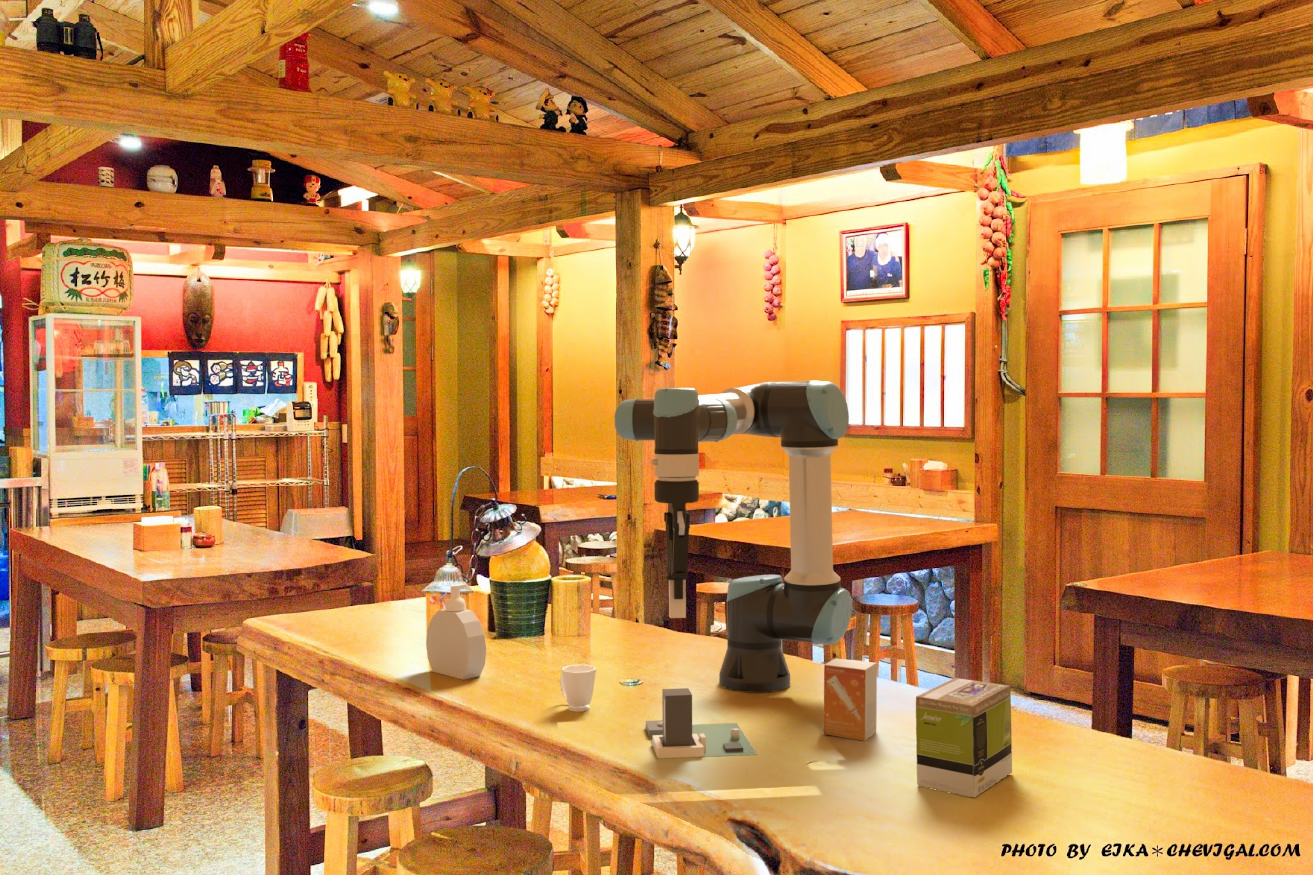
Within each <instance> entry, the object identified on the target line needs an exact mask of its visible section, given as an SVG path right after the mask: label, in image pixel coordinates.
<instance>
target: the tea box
mask: <svg viewBox="0 0 1313 875" xmlns="http://www.w3.org/2000/svg"><path fill="white" fill-rule="evenodd" d="M1011 693H1012V692H1011V685H1008V684H1000V683H993V682H985V681H978V680H973V679H964V678H960V677H959V678H958V677H954V678H952V679H950V680H947V681H946V682H944V683H941V684H940V685H937V686H935V687H933V688H932V689H929V690H927V691H925V692H923V693H921V694H918V695H917V696H915V736H916V744H915V745H916V746H915V747H916V784H917V786H918V787H920V788H925V787H927V788H926V789H929V788H932V789H931V790H933V789H936V790H935V791H938V790H940V791H939V792H942V791H944V792H943V793H947V792H950V793H949V794H951V793H955V794H954V795H956V794H958V795H957V796H961V795H963V796H962V797H966V796H967V798H971V797H975V798H976V797H978V796H979V795H980V793H981V794H982V793H984V792H985V791H986V790H989V789H990V788H991V787H992V786H994V785H996V784H997V783H999V782H1000V781H1002V780H1003V779H1005V778H1006V777H1008V776H1009V775H1010V774H1012V773H1013V753H1012V749H1013V748H1012V742H1013V741H1012V704H1011V703H1012V702H1011V701H1012V700H1011V699H1012V698H1011V695H1012V694H1011ZM1007 775H1008V776H1007ZM1001 779H1002V780H1001ZM995 783H996V784H995ZM989 787H990V788H989Z"/></svg>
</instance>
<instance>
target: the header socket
mask: <svg viewBox="0 0 1313 875" xmlns="http://www.w3.org/2000/svg"><path fill="white" fill-rule="evenodd" d="M652 745H653V746H652ZM651 746H652V748H653V747H654V749H653V751H654V750H655V752H654V754H655V753H656V755H657V757H656V759H657V758H669V759H683V758H682V757H693V758H705V757H704V752H706V737H705V735H704V733H702V734H699V737H698V735H697V734H692V746H674V747H663V735H652V744H651ZM656 755H655V756H656Z"/></svg>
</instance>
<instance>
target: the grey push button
mask: <svg viewBox="0 0 1313 875" xmlns="http://www.w3.org/2000/svg"><path fill="white" fill-rule="evenodd" d="M645 726H646V727H645V730H646V732H647V735H649V736H648V738H649V739H650V738H652V735H663V719H660V720H645Z"/></svg>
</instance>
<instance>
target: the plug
mask: <svg viewBox="0 0 1313 875" xmlns="http://www.w3.org/2000/svg"><path fill="white" fill-rule="evenodd" d="M661 692H662V694H661V696H662V697H661V698H662V703H661V704H662V720H663V747H674V746H692V725H693V694H692V692H691V690H690V689H689V687H686V688H685V687H683V688H680V687H679V688H662V691H661Z"/></svg>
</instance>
